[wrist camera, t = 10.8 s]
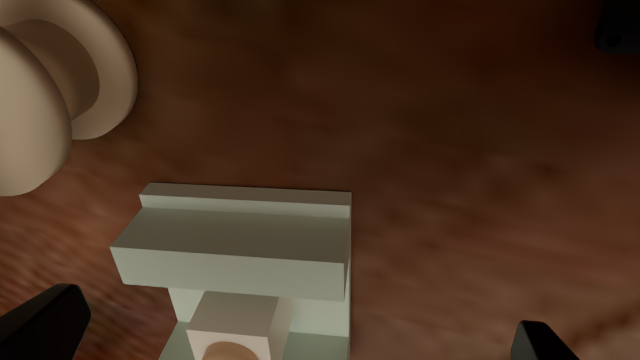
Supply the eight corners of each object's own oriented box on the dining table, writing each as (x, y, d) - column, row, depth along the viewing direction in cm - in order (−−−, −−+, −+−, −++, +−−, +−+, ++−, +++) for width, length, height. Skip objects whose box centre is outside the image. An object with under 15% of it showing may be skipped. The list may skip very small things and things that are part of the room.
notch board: (351, 192, 22) (343, 249, 18) (350, 353, 28) (344, 418, 25) (149, 182, 23) (104, 233, 19) (194, 338, 30) (167, 397, 26)
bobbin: (113, -19, 18) (4, 7, 13) (153, 133, 21) (81, 200, 16) (-34, -17, 19) (-191, 9, 14) (29, 129, 22) (-76, 191, 17)
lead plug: (286, 269, 23) (262, 356, 19) (292, 318, 26) (270, 407, 21) (217, 264, 24) (177, 347, 19) (228, 312, 26) (194, 398, 21)
